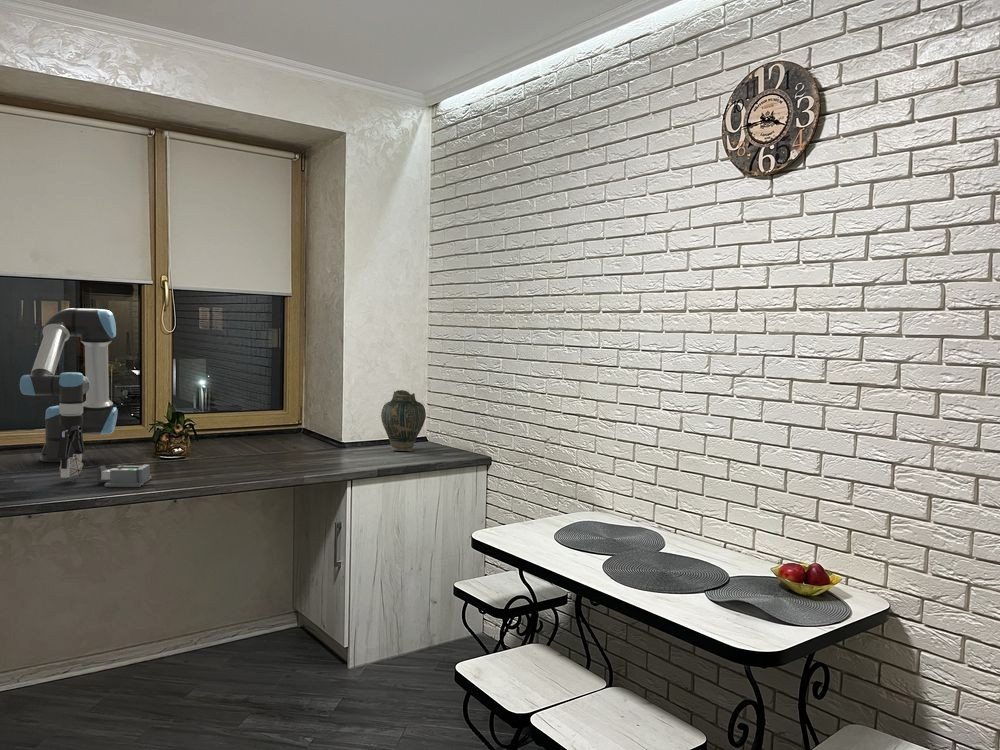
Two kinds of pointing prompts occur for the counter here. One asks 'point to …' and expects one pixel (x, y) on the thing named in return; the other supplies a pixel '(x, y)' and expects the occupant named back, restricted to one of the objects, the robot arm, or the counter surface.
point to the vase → (403, 420)
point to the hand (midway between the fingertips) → (71, 474)
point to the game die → (74, 466)
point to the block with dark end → (104, 473)
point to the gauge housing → (129, 476)
